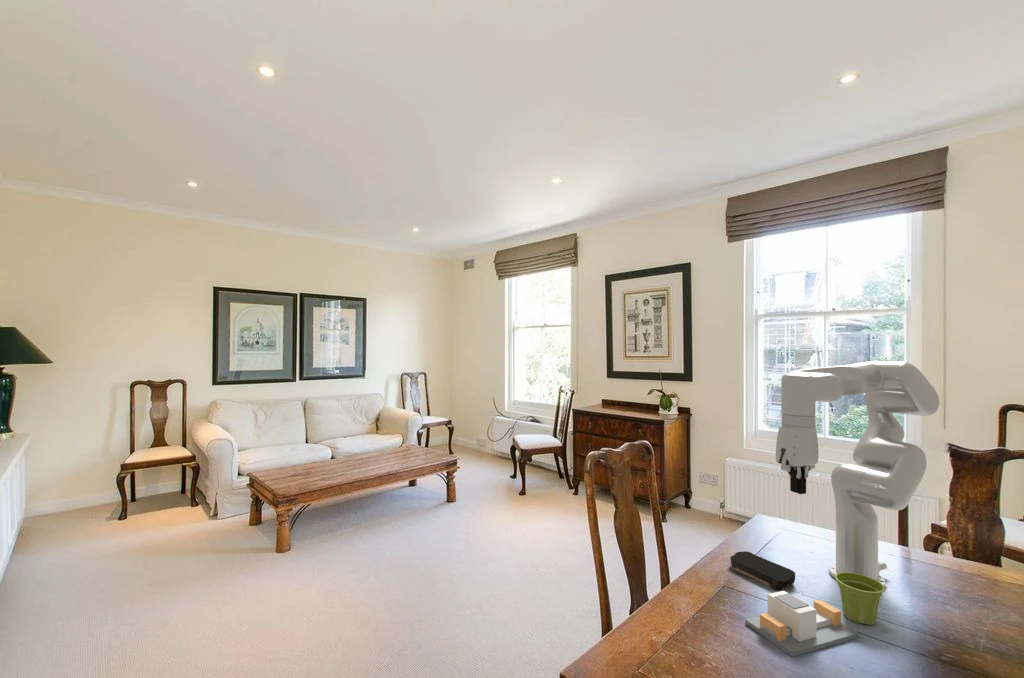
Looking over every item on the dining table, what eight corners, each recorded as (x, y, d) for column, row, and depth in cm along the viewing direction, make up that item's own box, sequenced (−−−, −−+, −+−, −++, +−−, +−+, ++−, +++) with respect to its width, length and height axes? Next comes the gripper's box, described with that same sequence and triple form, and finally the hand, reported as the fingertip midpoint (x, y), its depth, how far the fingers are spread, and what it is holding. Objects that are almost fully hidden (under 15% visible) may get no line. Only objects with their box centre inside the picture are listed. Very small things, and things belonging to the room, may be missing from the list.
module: (783, 616, 106) (783, 589, 106) (816, 637, 99) (816, 608, 99) (767, 620, 105) (767, 593, 105) (799, 641, 97) (799, 612, 97)
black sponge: (799, 586, 122) (799, 573, 122) (780, 594, 118) (780, 580, 119) (744, 561, 137) (744, 549, 137) (725, 567, 133) (725, 555, 133)
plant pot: (872, 634, 101) (872, 595, 102) (827, 612, 110) (826, 576, 110) (893, 623, 106) (892, 586, 106) (847, 603, 114) (847, 568, 114)
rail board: (807, 608, 112) (807, 591, 112) (858, 637, 100) (858, 619, 100) (745, 623, 105) (745, 606, 105) (792, 656, 94) (792, 637, 94)
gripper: (805, 418, 123) (805, 485, 123) (763, 420, 118) (763, 490, 118) (832, 422, 116) (833, 494, 116) (790, 425, 111) (790, 500, 111)
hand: (798, 492), depth 117 cm, fingers closed
